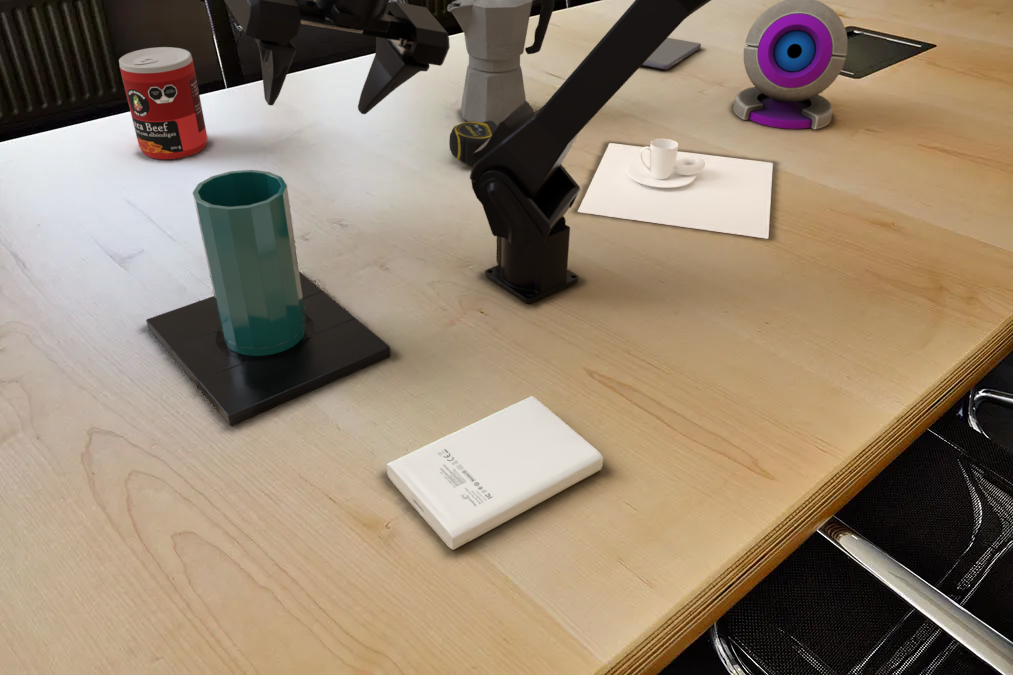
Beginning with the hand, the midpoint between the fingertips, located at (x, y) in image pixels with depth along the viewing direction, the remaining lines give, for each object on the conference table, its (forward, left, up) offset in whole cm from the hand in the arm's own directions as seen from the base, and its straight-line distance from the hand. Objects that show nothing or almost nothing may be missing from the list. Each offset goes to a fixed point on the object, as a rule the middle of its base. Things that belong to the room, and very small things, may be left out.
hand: (316, 107), depth 77 cm
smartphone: (+21, -73, -14) cm, 77 cm away
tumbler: (-12, +13, -13) cm, 22 cm away
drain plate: (-12, +13, -14) cm, 22 cm away
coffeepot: (+17, -36, -14) cm, 42 cm away
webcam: (-6, -67, -14) cm, 69 cm away
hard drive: (-36, +8, -14) cm, 39 cm away
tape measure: (+7, -25, -14) cm, 30 cm away
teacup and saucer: (-13, -38, -14) cm, 43 cm away
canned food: (+32, +3, -14) cm, 35 cm away
